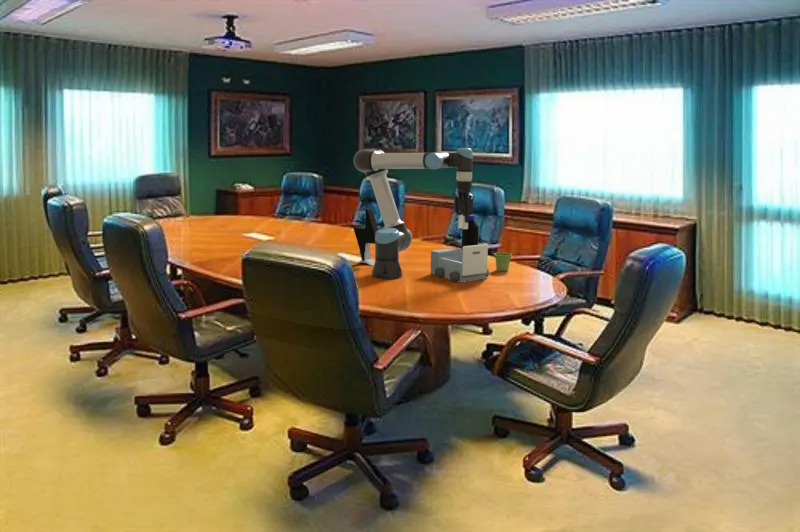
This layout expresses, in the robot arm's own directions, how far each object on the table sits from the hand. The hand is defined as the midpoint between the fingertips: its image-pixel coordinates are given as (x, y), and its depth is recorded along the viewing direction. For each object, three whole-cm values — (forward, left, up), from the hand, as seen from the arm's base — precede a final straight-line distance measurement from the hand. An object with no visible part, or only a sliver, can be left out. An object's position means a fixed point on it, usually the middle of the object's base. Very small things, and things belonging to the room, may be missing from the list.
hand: (462, 228), depth 346 cm
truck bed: (0, +3, -25) cm, 25 cm away
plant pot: (+30, +3, -25) cm, 39 cm away
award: (-21, +55, -25) cm, 64 cm away
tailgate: (0, -10, -22) cm, 24 cm away
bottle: (+20, +18, -25) cm, 37 cm away
